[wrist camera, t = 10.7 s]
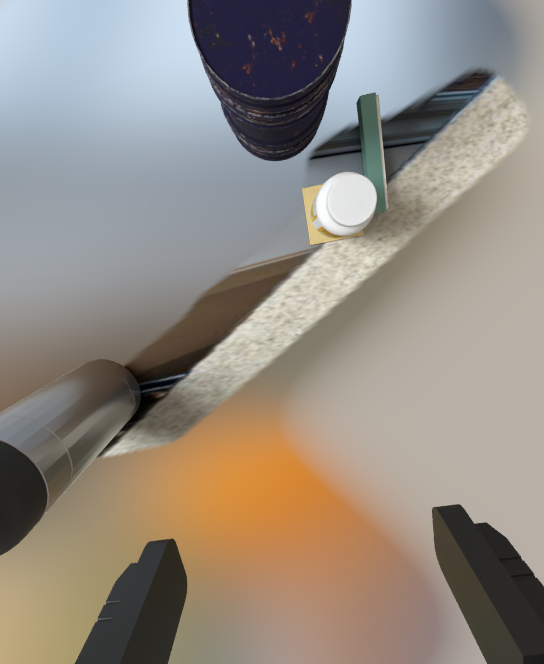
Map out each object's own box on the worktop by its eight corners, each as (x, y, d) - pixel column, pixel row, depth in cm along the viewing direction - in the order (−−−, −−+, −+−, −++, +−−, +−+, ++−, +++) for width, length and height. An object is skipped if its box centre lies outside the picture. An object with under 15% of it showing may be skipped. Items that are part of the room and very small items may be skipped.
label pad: (310, 245, 37) (310, 245, 36) (302, 188, 35) (302, 188, 35) (363, 234, 36) (364, 234, 36) (357, 177, 35) (357, 177, 34)
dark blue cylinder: (262, 182, 35) (247, 136, 21) (208, 96, 33) (150, -20, 19) (341, 123, 33) (385, 28, 19) (289, 29, 31) (294, -155, 17)
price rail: (368, 214, 36) (372, 213, 34) (356, 102, 33) (360, 96, 31) (384, 211, 35) (389, 210, 34) (374, 98, 33) (378, 91, 31)
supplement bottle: (368, 220, 35) (398, 211, 26) (325, 247, 36) (339, 247, 27) (344, 175, 34) (366, 148, 25) (300, 204, 35) (306, 189, 26)
